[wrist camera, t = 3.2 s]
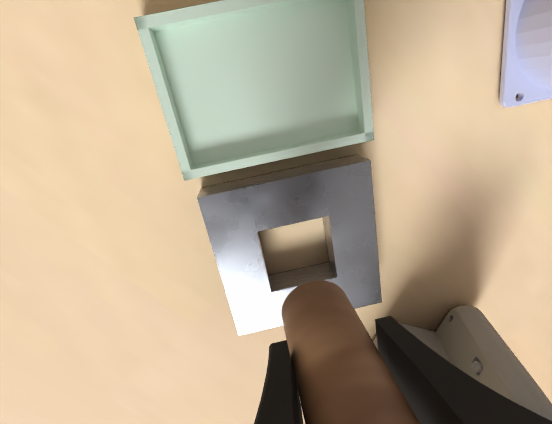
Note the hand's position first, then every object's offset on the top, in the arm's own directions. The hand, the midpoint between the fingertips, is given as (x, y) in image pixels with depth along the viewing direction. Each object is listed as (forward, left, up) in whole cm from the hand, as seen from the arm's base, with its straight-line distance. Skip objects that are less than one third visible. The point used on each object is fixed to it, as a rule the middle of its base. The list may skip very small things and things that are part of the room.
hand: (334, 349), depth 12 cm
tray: (0, -10, -10) cm, 14 cm away
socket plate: (0, 0, -10) cm, 10 cm away
